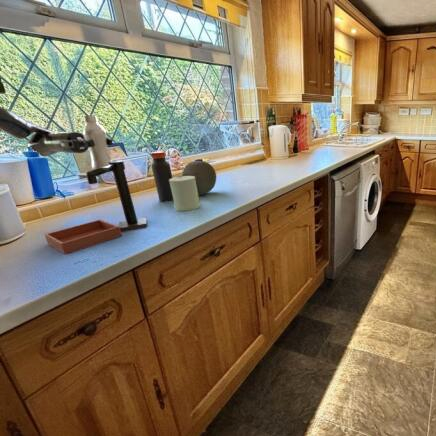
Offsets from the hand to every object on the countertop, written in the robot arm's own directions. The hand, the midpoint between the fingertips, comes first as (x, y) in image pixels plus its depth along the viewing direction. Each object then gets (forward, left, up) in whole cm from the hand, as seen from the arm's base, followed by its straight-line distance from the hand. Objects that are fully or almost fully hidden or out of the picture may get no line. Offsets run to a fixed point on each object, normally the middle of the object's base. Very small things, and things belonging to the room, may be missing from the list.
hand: (101, 142), depth 105 cm
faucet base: (+4, -19, -26) cm, 32 cm away
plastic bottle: (-2, +2, -11) cm, 11 cm away
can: (+22, -7, -26) cm, 35 cm away
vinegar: (+16, +11, -26) cm, 33 cm away
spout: (+2, -25, -8) cm, 26 cm away
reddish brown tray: (-8, -25, -26) cm, 37 cm away
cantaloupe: (+30, +10, -26) cm, 41 cm away
